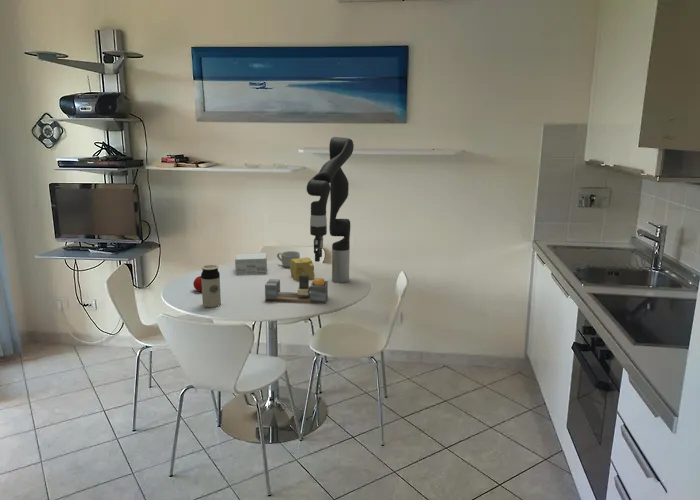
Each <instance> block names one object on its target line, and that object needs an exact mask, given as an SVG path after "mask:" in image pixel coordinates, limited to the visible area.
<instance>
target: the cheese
mask: <svg viewBox="0 0 700 500" xmlns="http://www.w3.org/2000/svg"><path fill="white" fill-rule="evenodd" d="M289 269H290V275H291V277H292V278H293V279H294V280H295V281H296V282H299V276H300V274H302V275H309V281H311V280H314V279H315V277H316V276H315V272H314V271H315V266H314V263H313V260H312V259H311V257H307V256H306V257H302V258H301V257H300V258H299V259H291V263H290V268H289Z"/></svg>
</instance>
